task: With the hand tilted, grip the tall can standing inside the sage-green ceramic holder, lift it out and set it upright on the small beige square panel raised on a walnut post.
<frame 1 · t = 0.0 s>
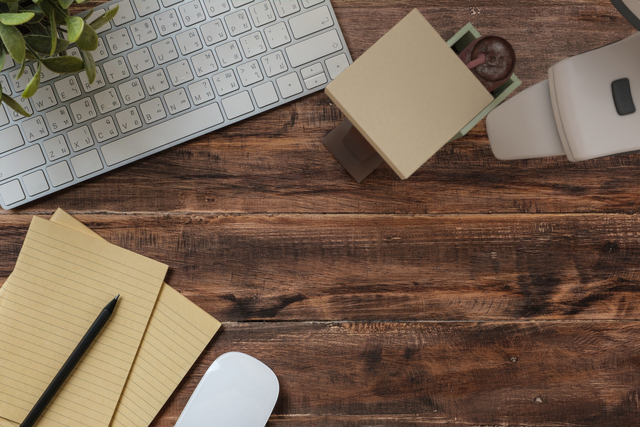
hand: (568, 123, 44), 25 cm above the table, tool pointing down, fingers open, 8 cm apart
holder: (451, 90, 69), on the table
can: (450, 90, 69), resting in holder
beige square panel: (406, 97, 41), resting on post
post: (359, 144, 68), on the table
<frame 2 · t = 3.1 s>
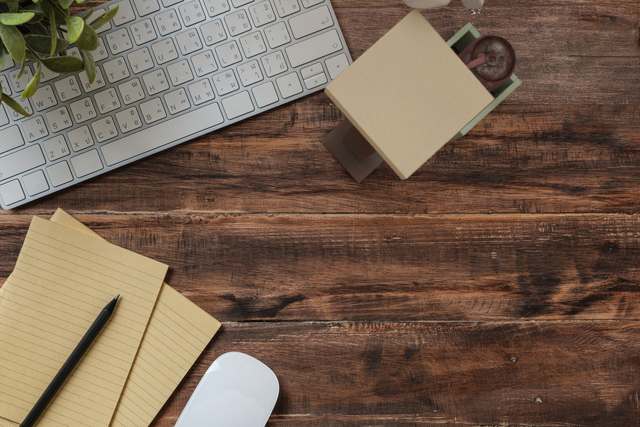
nothing on the table moved.
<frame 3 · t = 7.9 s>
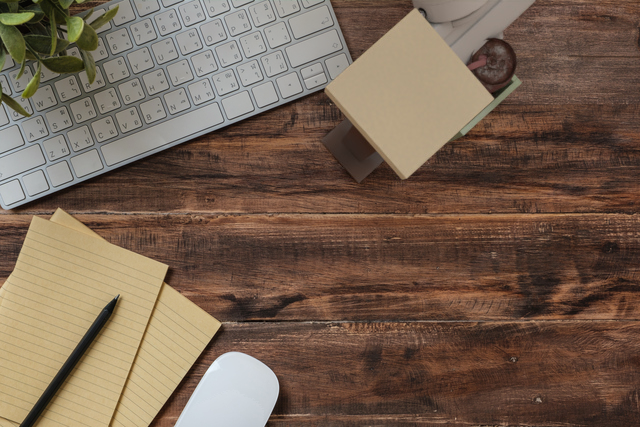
hand: (477, 78, 60), 9 cm above the table, tool tilted 45°, fingers closed on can, 3 cm apart
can: (450, 89, 69), resting in holder, touching gripper
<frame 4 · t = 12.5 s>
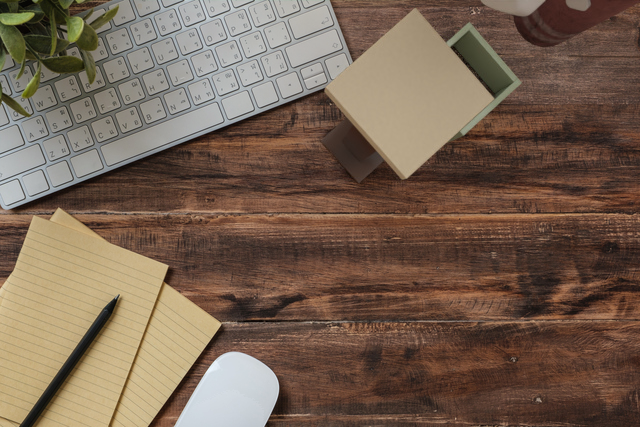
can: (539, 16, 44), point 25 cm above the table, touching gripper
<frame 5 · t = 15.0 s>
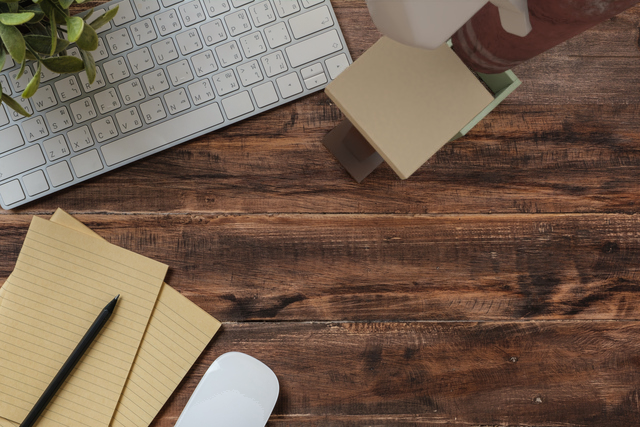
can: (484, 36, 36), point 32 cm above the table, touching gripper
when the fingers open (37 cm above the table, at t = 17.2 s): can stays where it is, point 28 cm above the table.
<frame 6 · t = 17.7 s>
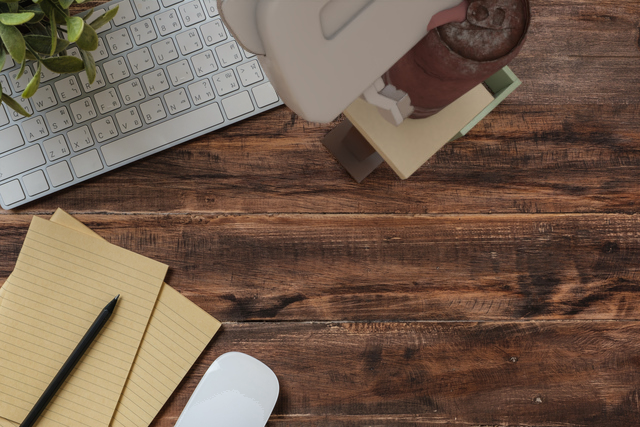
hand: (452, 66, 31), 37 cm above the table, tool tilted 45°, fingers open, 8 cm apart
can: (411, 84, 39), point 28 cm above the table
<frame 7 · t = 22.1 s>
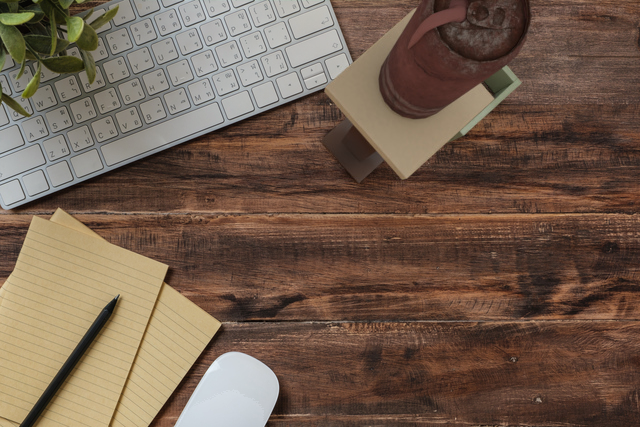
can: (411, 84, 39), point 28 cm above the table, touching beige square panel
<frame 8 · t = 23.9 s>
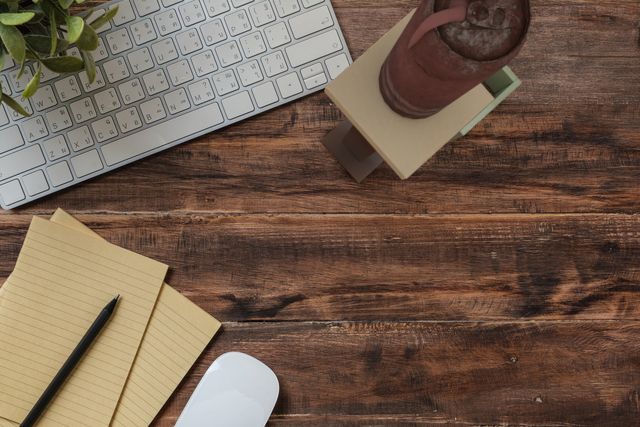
nothing on the table moved.
at the end: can inside the target area on the beige square panel (0.8 cm from its centre), point 1.3 cm above the beige square panel's base; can tilted 0°; the gripper is holding nothing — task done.
